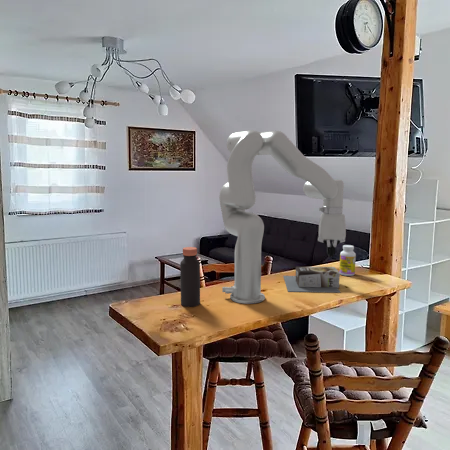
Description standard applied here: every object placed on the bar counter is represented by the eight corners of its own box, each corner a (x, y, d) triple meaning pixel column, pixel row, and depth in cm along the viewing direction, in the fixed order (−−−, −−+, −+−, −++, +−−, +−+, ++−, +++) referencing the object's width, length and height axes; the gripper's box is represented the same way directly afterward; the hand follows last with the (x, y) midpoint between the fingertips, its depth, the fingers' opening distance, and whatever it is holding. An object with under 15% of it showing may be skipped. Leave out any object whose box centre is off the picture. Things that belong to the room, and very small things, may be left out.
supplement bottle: (336, 274, 187) (338, 246, 185) (342, 271, 192) (343, 243, 191) (351, 277, 183) (353, 248, 181) (356, 274, 189) (358, 245, 187)
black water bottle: (203, 302, 151) (202, 247, 148) (194, 308, 145) (194, 251, 142) (186, 299, 153) (185, 245, 150) (177, 305, 147) (176, 249, 144)
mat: (287, 291, 163) (287, 291, 163) (283, 276, 185) (283, 275, 184) (340, 292, 162) (340, 292, 162) (329, 277, 183) (329, 276, 183)
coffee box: (340, 272, 166) (298, 272, 166) (339, 288, 167) (298, 287, 167) (334, 266, 175) (295, 266, 175) (333, 281, 176) (294, 281, 176)
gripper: (314, 211, 164) (313, 258, 167) (354, 212, 163) (351, 258, 166) (312, 209, 171) (310, 253, 174) (349, 209, 170) (347, 254, 173)
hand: (330, 256), depth 170 cm, fingers closed
